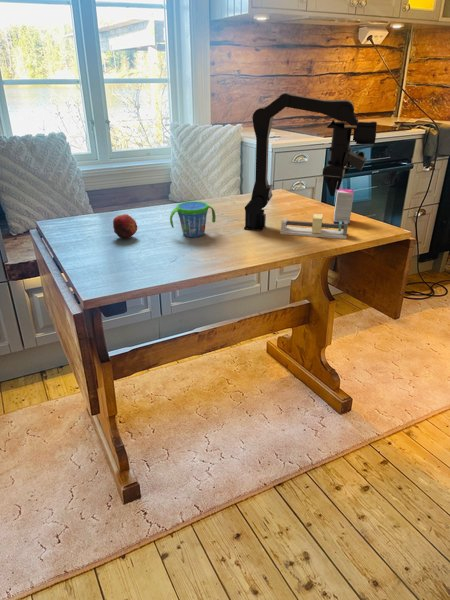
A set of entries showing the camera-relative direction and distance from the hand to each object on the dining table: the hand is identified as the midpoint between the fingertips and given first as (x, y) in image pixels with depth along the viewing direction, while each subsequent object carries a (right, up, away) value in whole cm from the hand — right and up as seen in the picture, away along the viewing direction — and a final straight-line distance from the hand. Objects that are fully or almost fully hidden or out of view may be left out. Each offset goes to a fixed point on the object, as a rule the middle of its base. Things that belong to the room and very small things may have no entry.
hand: (334, 192), depth 153 cm
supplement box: (+7, -7, +18) cm, 20 cm away
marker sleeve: (-5, -12, +5) cm, 14 cm away
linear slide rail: (-6, -13, +6) cm, 15 cm away
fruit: (-70, -15, +3) cm, 71 cm away
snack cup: (-47, -13, +6) cm, 49 cm away
